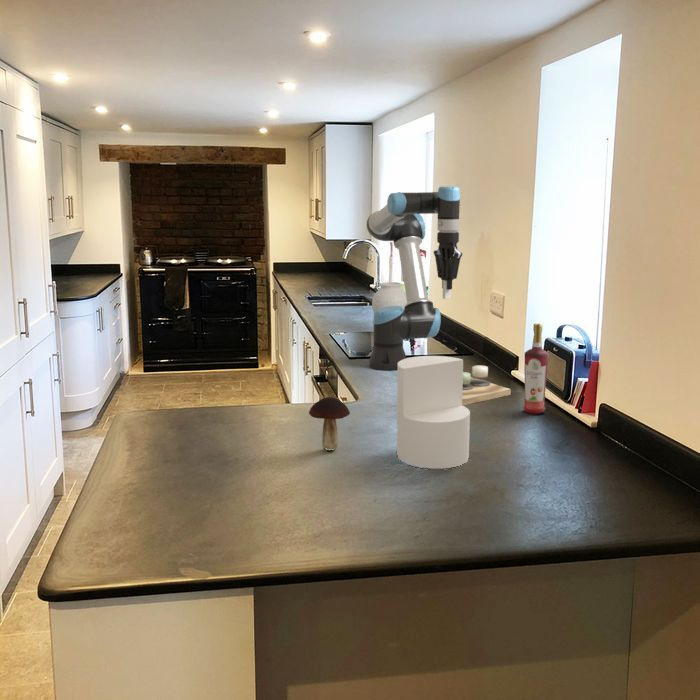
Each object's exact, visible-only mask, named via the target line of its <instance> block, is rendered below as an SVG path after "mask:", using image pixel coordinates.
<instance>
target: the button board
mask: <svg viewBox="0 0 700 700" xmlns="http://www.w3.org/2000/svg"><path fill="white" fill-rule="evenodd" d="M511 393H512V389H511V388H508V387H505V386H501V385H498V384H496V383H492V382H490V381H489V380H487V379H486V380H485V379H480V378H477V377H473V376H471V379H470V384H463V392H462V406H466V405H471V404H475V403H480V402H484V401H489V400H495V399H499V398H501V397H502V398H503V397H506V396H511V395H512V394H511Z"/></svg>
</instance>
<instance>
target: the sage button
mask: <svg viewBox="0 0 700 700" xmlns="http://www.w3.org/2000/svg"><path fill="white" fill-rule="evenodd" d="M471 377H472V373H470V372H466V371H463V384H470V379H471Z"/></svg>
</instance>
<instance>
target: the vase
mask: <svg viewBox="0 0 700 700" xmlns="http://www.w3.org/2000/svg"><path fill="white" fill-rule="evenodd" d="M402 285H403V283H401V282H395V281H394V282H393V281H390V282H389V281H387V282H382V283H381V282H380V284H379V286H380V288H379V289H378V290H377V291H376V292H375V293H374V295H373V298H372V301H371V307H372V312H373V314H374V313H375V311H376V310H378V309H380V308H384V307H389V306H401V307H403V309H404V307H405V305H406V304H407V298H406V292H405V289H403V288H402Z"/></svg>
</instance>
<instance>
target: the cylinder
mask: <svg viewBox="0 0 700 700" xmlns="http://www.w3.org/2000/svg"><path fill="white" fill-rule="evenodd" d="M463 372H464V359H461V358H458V357H454V356H453V357H452V356H445V355H422V356H421V355H420V356H412V357H411V356H410V357H406V359H403V360H401V361H399V362H398V370H397V382H396V383H397V385H396V387H397V389H396V390H397V393H396V394H397V397H396V398H397V399H396V400H397V401H396V403H397V405H396V406H397V408H396V409H397V411H396V413H397V414H396V416H397V417H396V419H397V420H396V421H397V422H396V423H397V424H396V425H397V427H396V428H397V430H396V433H397V434H396V435H397V436H396V455H398V457H399V458H400V459H401V460H403V461H405V462H407V463H410V464H412V465H415V466H419V467H425V468H426V467H427V468H441V469H442V468H451V467H456V466H459V467H461V466H463V465H462V464H464V463H465V464H467V462H469V459H468V458H470V451H469V450H470V431H471V430H470V429H471V428H470V426H471V425H470V424H471V423H470V421H471V412H470V409H469V408H467V407H466V406H465V405H463V406H462V392H463ZM465 464H464V465H465ZM460 465H461V466H460ZM456 468H457V467H456Z"/></svg>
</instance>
